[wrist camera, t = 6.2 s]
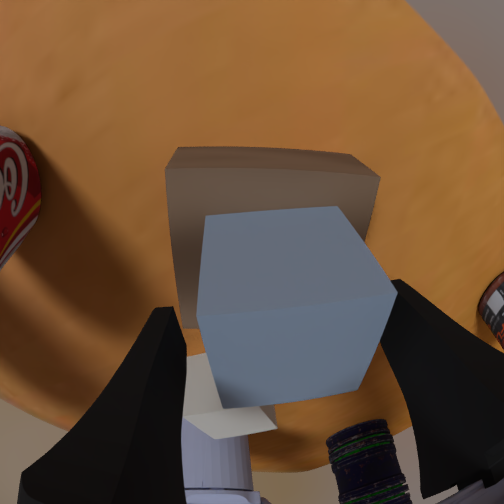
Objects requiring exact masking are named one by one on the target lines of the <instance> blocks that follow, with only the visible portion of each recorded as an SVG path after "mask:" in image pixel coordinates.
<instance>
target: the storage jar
mask: <svg viewBox="0 0 504 504" xmlns="http://www.w3.org/2000/svg"><path fill="white" fill-rule="evenodd" d="M393 442H394V440H393V437H392V435H391V434H390V430H389V429H388V428H387V422H386V420H384V419H376V420H370V421H366V422H363V423H359V424H356V425H353V426H351V427H348V428H346V429H343V430H341V431H339V432H337V433H335V434H334V435H332V436H331V437H329V438H328V439H327V440H326V445H327V447H328V449H329V450H328V453H329V455H330V456H329V461H330V464H332V465H331V467H332V471H333V473H334V474H335V476H336V480H337V485H338V490H339V496H338V498H339V502H340V504H412V501H411V500H410V493H406V494H405V491H407V490H409V489H408V484H406V485H402V484H403V483H405V482H406V480H405V478H406V477H405V476H404V474H403V473H402V472H401V469H400V466H399V463H398V460H397V456H396V448H395V445H394V443H393Z"/></svg>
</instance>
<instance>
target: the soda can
mask: <svg viewBox="0 0 504 504" xmlns="http://www.w3.org/2000/svg"><path fill="white" fill-rule="evenodd" d="M40 206H41V184H40V177H39V173H38V169H37V166H36V163H35V161H34V158H33V156H32V154H31V152H30V150H29V148H28V147H27V145H26V144H25V142H24V141H23V140H22V139H21V138H20V137H19V136H18V135H17V134H16V133H15V132H14V131H12V130H10V129H9V128H7V127H4V126H0V270H1V269H2V268H3V266H4V265H5V264H6V262H7V261H8V260H9V259H10V257H11V256H12V255H13V253H14V252H15V251H16V250H17V248H18V247H19V246H20V245H21V243H22V242H23V240H24V239H25V237H26V236H27V234H28V233H29V231H30V230H31V228H32V227H33V225H34V224H35V222H36V220H37V217H38V215H39V211H40Z"/></svg>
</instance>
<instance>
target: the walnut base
mask: <svg viewBox="0 0 504 504" xmlns="http://www.w3.org/2000/svg"><path fill="white" fill-rule="evenodd" d="M165 177H166V192H167V204H168V216H169V226H170V236H171V246H172V254H173V263H174V271H175V278H176V286H177V293H178V299H179V306H180V313H181V319H182V325H183V328H191V329H200V328H199V325H198V321H197V317H196V314H197V300H198V288H199V276H200V265H201V255H202V245H203V235H204V226H205V217H206V216H209V215H219V214H230V213H242V212H254V211H267V210H280V209H295V208H311V207H328V206H338V207H339V209H340V210H341V211H342V213H343V214H344V215H345V217H346V218H347V219H348V221H349V222H350V223H351V225H352V226H353V228H354V229H355V230H356V232H357V233H358V234H359V236H360V237H361V239H362V240H363V241H365V237H366V234H367V230H368V226H369V223H370V219H371V215H372V211H373V207H374V203H375V199H376V195H377V190H378V186H379V181H380V176H378V175H377V174H376V173H375V172H373V171H372V170H371V169H369V168H368V167H367V166H365V165H364V164H363V163H361V162H360V161H359V160H357V159H356V158H355V157H353V156H352V155H351V154H344V153H335V152H324V151H313V150H300V149H285V148H265V147H178V148H177V150H176V151H175V153H174V155H173V156H172V158H171V160H170V161H169V163H168V165H167V166H166V168H165Z"/></svg>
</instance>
